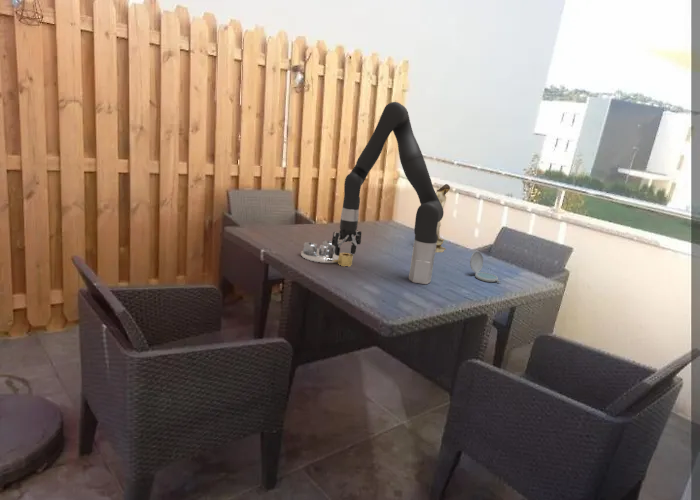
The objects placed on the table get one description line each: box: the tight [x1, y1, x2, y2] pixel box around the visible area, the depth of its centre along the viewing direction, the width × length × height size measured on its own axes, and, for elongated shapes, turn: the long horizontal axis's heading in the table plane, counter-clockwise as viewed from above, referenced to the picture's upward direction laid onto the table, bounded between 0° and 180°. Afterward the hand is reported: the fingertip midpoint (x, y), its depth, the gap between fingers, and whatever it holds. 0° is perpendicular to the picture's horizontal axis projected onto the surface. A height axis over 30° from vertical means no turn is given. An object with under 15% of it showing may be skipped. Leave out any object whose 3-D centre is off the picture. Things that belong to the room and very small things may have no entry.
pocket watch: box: [469, 250, 502, 284], centre depth 209 cm, size 10×11×15 cm
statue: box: [412, 183, 451, 254], centre depth 252 cm, size 17×17×35 cm
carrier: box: [300, 240, 339, 264], centre depth 215 cm, size 20×20×6 cm
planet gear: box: [337, 252, 354, 267], centre depth 208 cm, size 6×6×4 cm
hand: (344, 254), depth 208 cm, fingers open, 8 cm apart
